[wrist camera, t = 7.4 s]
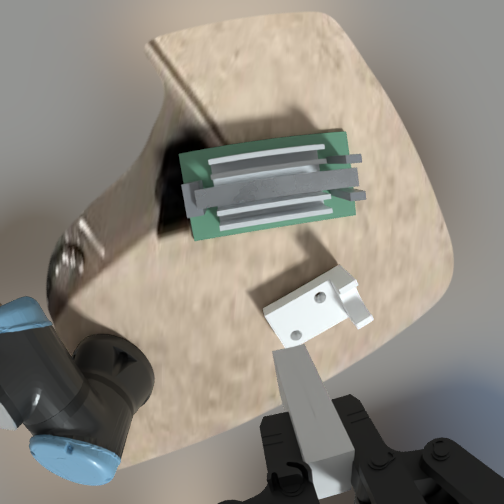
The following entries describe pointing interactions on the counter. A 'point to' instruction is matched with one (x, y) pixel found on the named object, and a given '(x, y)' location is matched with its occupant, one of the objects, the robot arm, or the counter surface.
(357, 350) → the counter surface
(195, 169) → the heatsink board
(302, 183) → the strap
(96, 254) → the counter surface
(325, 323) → the bracket
